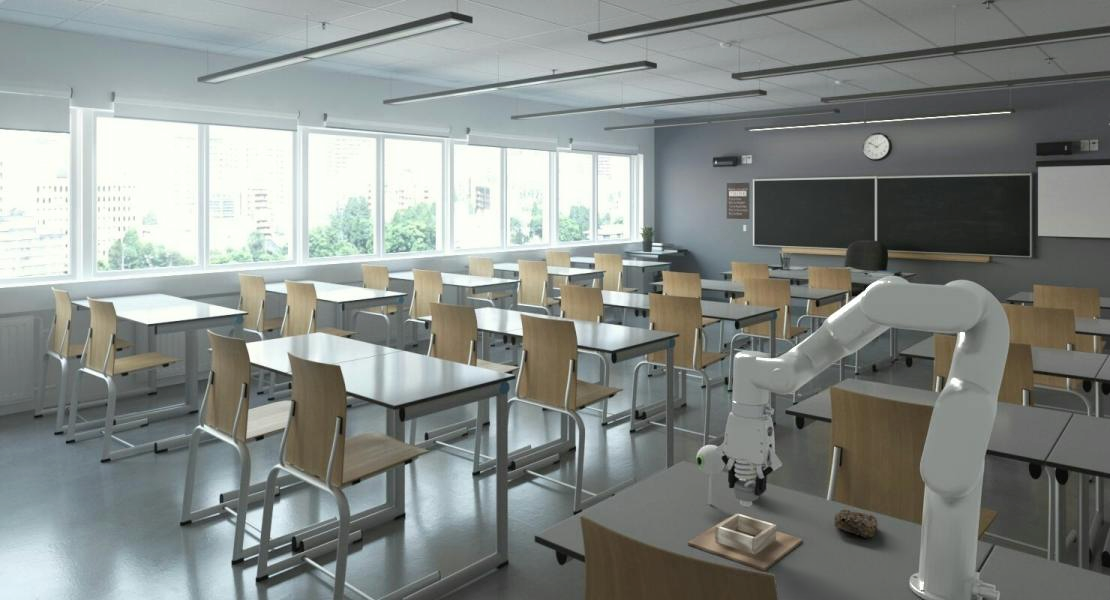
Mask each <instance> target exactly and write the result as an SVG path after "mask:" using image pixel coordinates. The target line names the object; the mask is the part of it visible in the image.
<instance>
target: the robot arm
mask: <svg viewBox="0 0 1110 600" xmlns="http://www.w3.org/2000/svg"><path fill="white" fill-rule="evenodd" d="M890 328H894V329H899V330H900V329H902V330H908V331H909V330H910V331H911V330H912V331H921V332H931V333H942V334H956V335H957V338H956V342H955V345H954V350H953V354H952V361H951V365H950V369H949V372H948V376H947V380H946V383H945V386H944V388H943V389H942V390H941V392H940V394H939V395H938V397H937V399H936V401H935V404H934V406H933V410H932V414H931V417H930V421H929V426H928V430H927V435H926V439H925V443H924V447H923V451H922V455H921V459H920V463H919V464H920V465H919V471H920V472H919V473H920V476H921V478H922V481H923V482H924V494H923V506H922V507H923V508H922V516H921V517H922V521H921V536H920V548H919V549H920V551H919V562H918V563H919V564H918V565H919V566H918V572H915V573H913V574H912V575H911V576H910V577H909V588H910V590H911V591H912V592H913V593H914V594H915V595H916V596H918V597H920V598H921V599H922V600H983V598H986V599H987V600H1000V596H1001V592H1000V591H999V590H996V588H997V587H996V585H995V584H991V583H985V582H983V581H982V580H981V579H980V572H978V571H976V565H977V564H976V563H977V552H978V540H979V539H978V537H979V524H980V517H981V516H980V515H981V514H980V513H981V503H982V502H981V501H982V491H983V482H984V481H983V480H984V473H985V463H986V462H985V458H986V453H987V450H988V446H989V442H990V438H991V434H992V431H993V427H994V424H995V420H996V415H997V409H998V397H999V393H1000V389H1001V385H1002V381H1003V377H1004V373H1005V366H1006V363H1007V358H1008V353H1009V349H1010V340H1011V339H1010V337H1011V333H1010V332H1011V331H1010V324H1009V320H1008V315H1007V313H1006V311H1005V309H1004V308H1003V306H1002V304H1001V302H1000V301H999V299H997V298H996V296H994V295H993V294H992V292H990V291H989V290H987V289H986V287H983V286H982V285H981V284H979V283H976V282H975V281H971V280H968V279H958V280H952V281H949V282H947V283H945V284H929V283H928V284H927V283H916V282H915V283H914V282H909V281H908V280H907V279H905V278H904V277H901V276H898V275H888V276H885V277H882V278H879V279H878V280H876V281H873V282H872V283H871V284H869V285H868V286H867V287H866V288H865V290H863V291H862V292H860V293H859V294H858V295H857V296H855V297H854V298H852V299H851V300H850V301H848V302H847V303H846V304H844V305H843V306H842V307H841V308H839V309H838V310H836V311H835V312H833V313H832V314H830V315H829V316H828V317H827V318H825V320H824V321H823V322H822V324H821V325H820V327H819V328H818V329H817V330H816V331H815V332H813V333H811V334H810V335H809V336H807V337H806V338H805V339H803V340H802V341H801V342H800V343H798V344H797V345H796V346H794V347H793V348H791V349H789V350H788V351H787V352H785V353H783V354H782V355H780V356H777V357H774V358H773V357H772V358H770V356H769V354H767V353H765V352H762V351H757V350H742V351H738V352H737V353H736V354H735V355H734V358H733V372H732V373H733V374H732V375H733V376H732V398H731V401H732V402H731V411H730V412H729V414H728V417H727V421H726V425H725V432H724V439H723V441H722V443H721V444H720V445H718V448H717V449H716V452H717V453H718V454H719V456H720V457H721V458H722V460H723V462H724V463H725V468H726V470H728V474H727V483H728V488H729V489H734V484H735V482H736V481H738V480H740V478H737V477H736V476H735V473H736V472H735V471H734V469H735V468H736V467H735V463H737V462H736V461H735V459H740V460H747V461H748V462H750V463H752V464H755V465H756V469H757V473H758V477H757V478H756V483H755V495H756V496H759V497H760V496H761V495H763V494H764V493H765V492H766V491H767V481H768V480H767V479H768V478H767V477H768V476H769V475H770V474H771V473H773V472H774V471H776V470H777V469H779V468H780V467H782V466H783V463H782V461H781V460H780V458H779V457H778V455H777V454H776V449H775V447H776V445H775V444H776V442H775V430H774V423H773V417H772V415H774V412H775V408H772V407H771V406H770V403H769V402H770V401H769V400H770V399H769V396H770V392H771V393H774V394H779V395H790V394H792V393H795V392H797V391H798V390H799V389H800V388H802V386H804V385H806V384H807V383H808V382H810V381H811V380H812V379H814V378H815V377H816V376H818V375H819V374H821V373H822V372H823V371H825V370H826V369H828V368H829V367H831V366H832V365H833V364H835V363H837V362H838V361H839V360H841V359H843V358H844V357H847V356H850V355H853V354H855V353H857V352H858V351H859V350H861V349H862V348H864V347H865V346H866V345H868V344H869V343H870V342H872V341H873V340H874V339H876V338H877V337H880V335H882V334H883V333H884V332H886V331H887V330H889V329H890ZM769 415H771V416H769ZM769 461H770V462H771V465H769V466H768V462H769Z"/></svg>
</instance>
